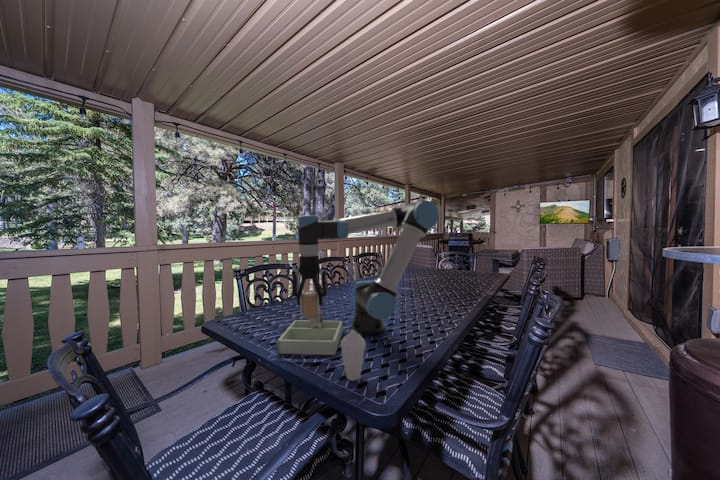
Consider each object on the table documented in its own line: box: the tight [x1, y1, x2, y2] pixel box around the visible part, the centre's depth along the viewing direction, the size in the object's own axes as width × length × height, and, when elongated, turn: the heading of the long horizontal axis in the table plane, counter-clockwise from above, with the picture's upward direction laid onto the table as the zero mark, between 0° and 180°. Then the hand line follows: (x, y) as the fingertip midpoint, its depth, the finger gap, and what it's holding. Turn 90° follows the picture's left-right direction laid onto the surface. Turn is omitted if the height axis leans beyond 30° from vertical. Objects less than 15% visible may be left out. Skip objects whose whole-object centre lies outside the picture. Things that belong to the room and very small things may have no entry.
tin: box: [308, 310, 324, 328], centre depth 118 cm, size 6×6×10 cm
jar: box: [301, 290, 318, 320], centre depth 107 cm, size 6×6×9 cm
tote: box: [276, 319, 344, 356], centre depth 112 cm, size 22×22×6 cm
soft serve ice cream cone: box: [339, 329, 367, 382], centre depth 87 cm, size 8×8×16 cm
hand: (310, 313), depth 107 cm, fingers closed on jar, 6 cm apart
